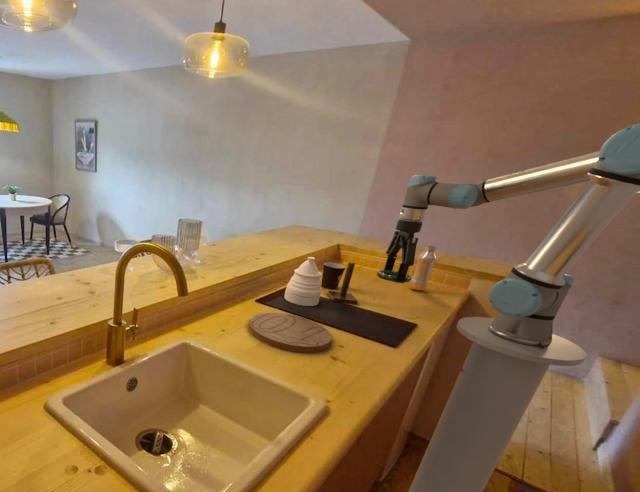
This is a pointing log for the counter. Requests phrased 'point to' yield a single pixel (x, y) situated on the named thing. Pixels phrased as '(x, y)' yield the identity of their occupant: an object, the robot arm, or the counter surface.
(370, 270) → the counter surface
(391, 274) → the ring
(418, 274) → the plastic bottle
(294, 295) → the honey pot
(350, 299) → the post
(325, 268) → the coffee mug
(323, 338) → the trivet
